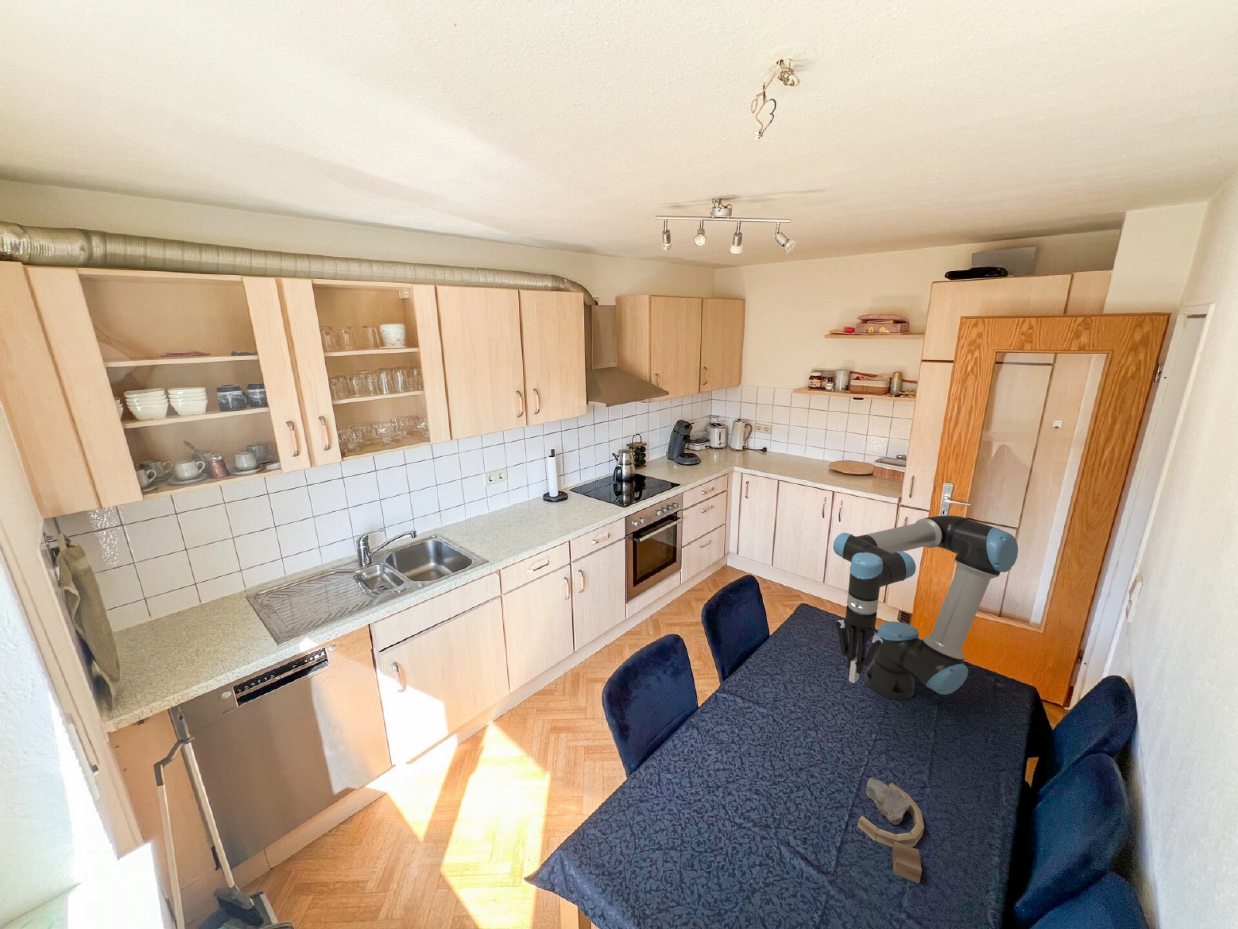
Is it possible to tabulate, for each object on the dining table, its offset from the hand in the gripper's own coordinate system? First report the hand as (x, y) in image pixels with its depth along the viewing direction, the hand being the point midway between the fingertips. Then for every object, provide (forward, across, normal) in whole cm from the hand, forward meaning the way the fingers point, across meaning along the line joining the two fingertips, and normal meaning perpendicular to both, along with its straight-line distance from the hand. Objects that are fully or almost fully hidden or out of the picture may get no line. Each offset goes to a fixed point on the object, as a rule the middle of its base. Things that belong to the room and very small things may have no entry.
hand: (853, 679), depth 140 cm
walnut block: (+23, +26, -24) cm, 42 cm away
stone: (+23, +16, -12) cm, 31 cm away
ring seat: (+23, +20, -14) cm, 34 cm away
